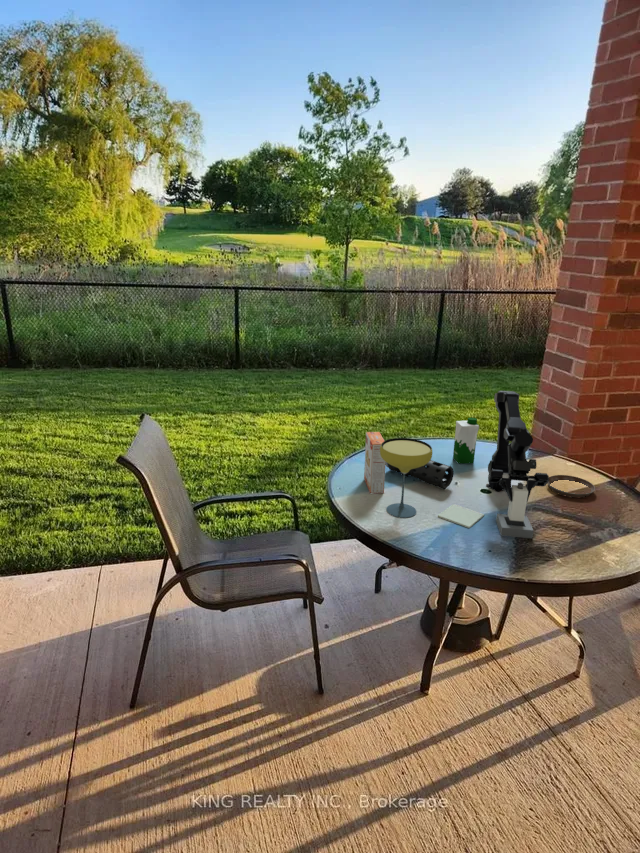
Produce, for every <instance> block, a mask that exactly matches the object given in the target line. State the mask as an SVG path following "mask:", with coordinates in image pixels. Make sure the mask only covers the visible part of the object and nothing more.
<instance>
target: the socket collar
mask: <svg viewBox="0 0 640 853" xmlns="http://www.w3.org/2000/svg"><path fill="white" fill-rule="evenodd" d="M495 522H496V525H497V529H498V532H499V533H500V534H499V535H500V536H502V537H503V536H504V537H511V538H512V537H513V538H524V539H533V534H534V529H533V526H532V524H531V522H530V520H529V516H527V515H525V516H524V521H513V520H510V519H509V517H508V513H507V514H506V513H498V512H497V513H496V519H495Z"/></svg>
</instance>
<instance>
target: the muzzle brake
mask: <svg viewBox="0 0 640 853" xmlns="http://www.w3.org/2000/svg"><path fill="white" fill-rule="evenodd" d="M385 468H388V469H389V470H390V471H392V472H395V473H398V474H399V473H400V475H401V474H402V475H401V476H403V473H402V472H401V471H400V470H399V468H397V467H394V466H392V465H390V464H388V463H387V462H386V464H385ZM454 473H455V472H454V468H453V467H452V466H451V465H447V464H446V463H445V464H444V463H441V462H438V461H434V460H432V459H431V460H430V461H429V462H428V463H427V464H426V465H424V466H421V467H418V468H414V469H411V470H410V471H409V472H408V473H406V474H405V477H406V476H407V477H412V478H414V479H417V480H419V481H420V482H423V483H425V484H427V485H430V486H433V487H436V488H439V489H442V490H447V489H448V487H449V486H450V485H451V483H452V481H453V479H454V475H455V474H454Z"/></svg>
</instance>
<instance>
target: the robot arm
mask: <svg viewBox="0 0 640 853" xmlns="http://www.w3.org/2000/svg"><path fill="white" fill-rule="evenodd" d="M493 401H494V403H495V405H494V407H495V408H496V411H497V412H498V424H497V425H498V427H497V437H496V438H497V440H496V442H497V443H496V449H495V451H494V453H493V454H492V455H491V459H490V460H489V462H488V464H487V471H488V476H487V482H488V483H487V484H485V486H486V487H488V488H489V489H491V490H493V491H495V492H497V493H498V492H502V491H505V493H506V495H507V497H508V500H509V501H511V502H512V500H513V496H512V481H518V482H520V481H522V482H526V483H525V485H524V486H526V488H527V490H528V497H527V503H528V502H529V498H530V495H531V491H532V489H534V488H535V487H545V486H546V485H548V484H547V483H548V482H549V477H550V476H549V474H548V473H543V472H535V473H534V475H528V474H529V473H530V472H531V470H536V469H537V464H538V463H537V459H536V458H530V459H529V460H528V459H527V456H526V455H527V454H526V452H528V451H529V449H530V448H531V445H532V444H533V442H534V438H533V436H532V435H531V433H530V431H529V429H527V425H526V422H524V421H523V420H522V419H521V412H520V411H521V410H520V406H519V403H520V393H517V392H516V391H510V390H498V391H497V392H496V393H494V398H493Z"/></svg>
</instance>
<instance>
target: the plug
mask: <svg viewBox="0 0 640 853" xmlns="http://www.w3.org/2000/svg"><path fill="white" fill-rule="evenodd" d="M511 488H512V496H513V500H512V502H511V501H510V500H509V502H508V508H507V509H508V510H507V514H508V517H509V519H510V520H513V521H524V516H526V515H525V514H526V508H527V503H528V502H527V497H528V490H527V488H526V486H525V485H524V483H522V482H518V483H517V484H516V485H515V484H511Z"/></svg>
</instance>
